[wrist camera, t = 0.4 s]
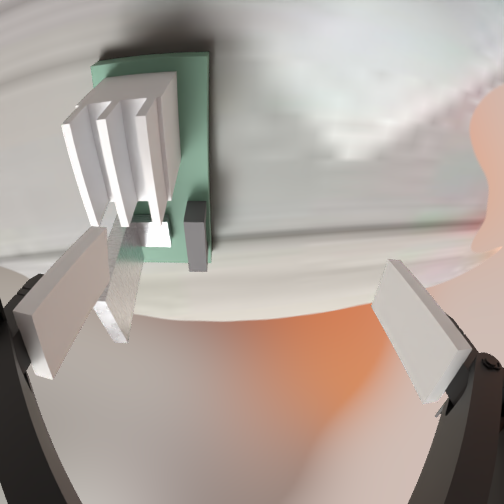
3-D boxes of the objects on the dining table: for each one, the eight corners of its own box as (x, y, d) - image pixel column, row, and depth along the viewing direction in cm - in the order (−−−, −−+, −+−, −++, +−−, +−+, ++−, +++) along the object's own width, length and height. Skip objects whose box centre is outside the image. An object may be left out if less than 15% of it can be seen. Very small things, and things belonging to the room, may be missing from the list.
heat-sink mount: (98, 61, 18) (37, 110, 12) (209, 51, 18) (194, 93, 13) (136, 251, 33) (120, 325, 27) (211, 251, 33) (208, 328, 27)
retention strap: (121, 201, 26) (89, 300, 19) (166, 200, 26) (145, 303, 19) (134, 249, 30) (114, 342, 24) (174, 249, 30) (161, 345, 24)
